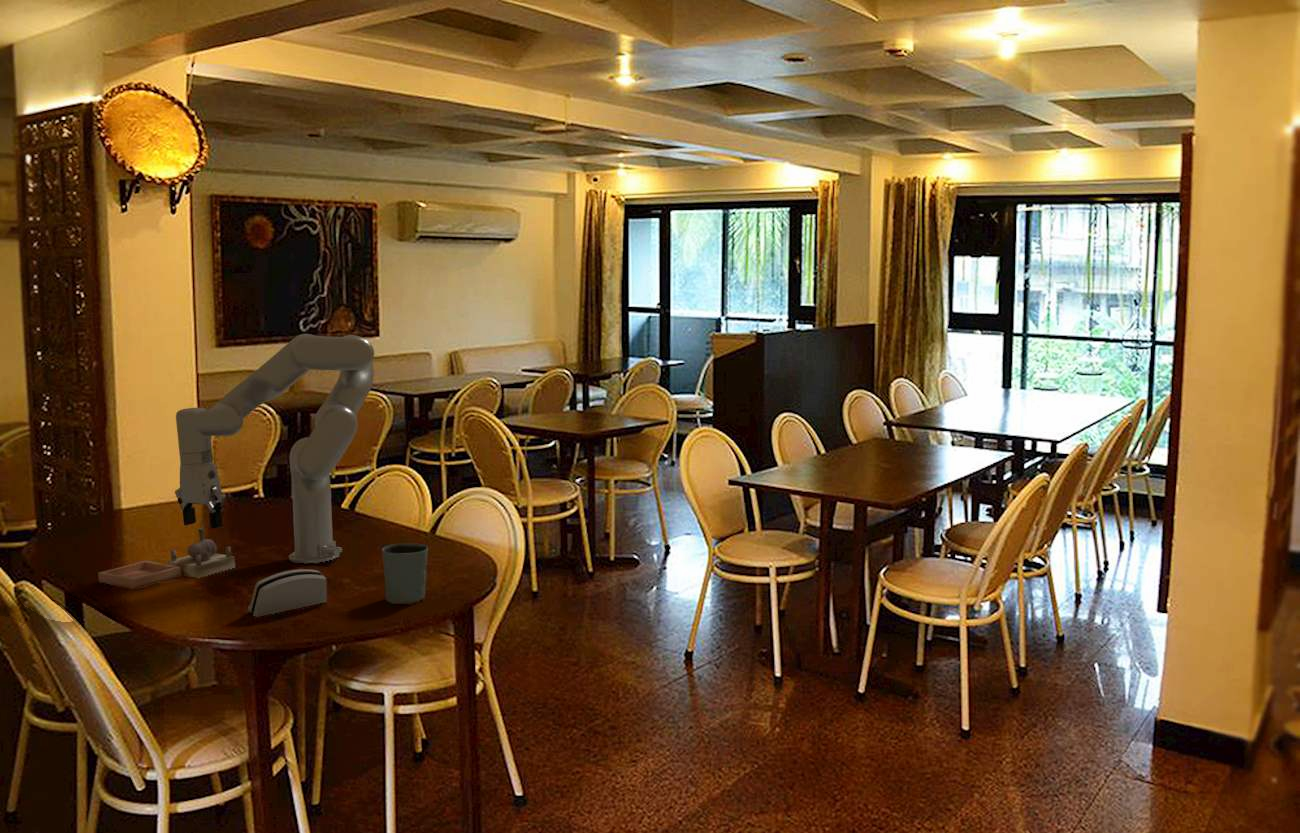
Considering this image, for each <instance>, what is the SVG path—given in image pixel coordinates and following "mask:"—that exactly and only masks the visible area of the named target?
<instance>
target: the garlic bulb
mask: <svg viewBox="0 0 1300 833" xmlns="http://www.w3.org/2000/svg"><path fill="white" fill-rule="evenodd" d="M197 531H198V534H199V535H198V536H199V541H196V542H195V543H191V544H190V545H189V546H188V547H187V554H188V556H189V555H190V556H191V557H192V558H194V559H196V557H195V555H201V560H202V561H206V560H207V559H208V558H210V557H212V556H213V555H214V554H215V553H217V550H218V549H217V548H218V547H217V544H216V543H215V542H214V541H213V540H212V539H210V538H209V539H206V538H205V534H204V529H203V528H202V527H198V530H197Z"/></svg>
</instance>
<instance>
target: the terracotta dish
mask: <svg viewBox="0 0 1300 833" xmlns="http://www.w3.org/2000/svg"><path fill="white" fill-rule="evenodd" d="M97 574H98V583H99V582H101V583H106V584H110V585H109V586H111V585H115V586H114V587H116V586H120V587H119V588H121V587H125V588H124V589H126V588H130V589H129V590H131V589H137V588H140V587H144V586H147V585H151V584H154V583H158V582H162V581H165V582H167V581H166V580H169V581H171V580H170V579H172V580H174V579H173V578H176V579H178V578H177V577H180V578H182V575H181V567H178V566H172V565H168V563H167V564H166V563H161V562H155V561H149V560H143V561H139V562H135V563H131V564H127V565H124V566H119V567H117V568H115V567H114V568H112V569H108V570H104V571H100V572H98V573H97ZM101 583H100V584H101ZM162 583H163V582H162ZM106 584H105V585H106ZM158 584H159V583H158ZM151 586H152V585H151ZM144 588H145V587H144ZM137 590H138V589H137Z"/></svg>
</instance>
